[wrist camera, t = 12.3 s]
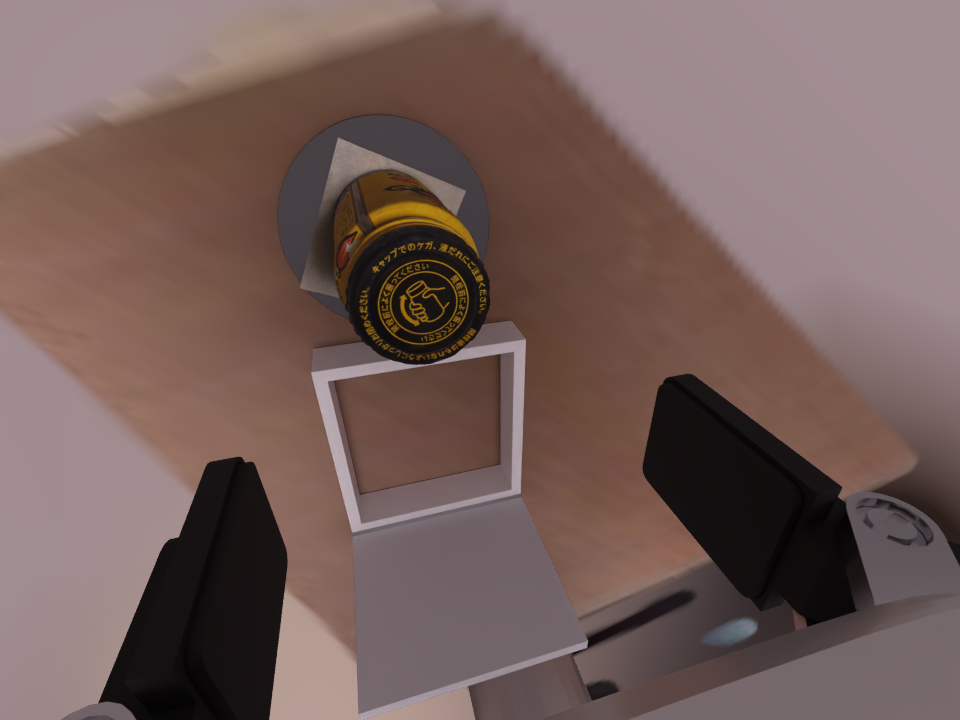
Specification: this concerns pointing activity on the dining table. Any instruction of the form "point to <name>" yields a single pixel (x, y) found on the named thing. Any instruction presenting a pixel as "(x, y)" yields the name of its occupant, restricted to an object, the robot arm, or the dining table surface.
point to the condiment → (397, 258)
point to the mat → (386, 139)
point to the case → (446, 553)
